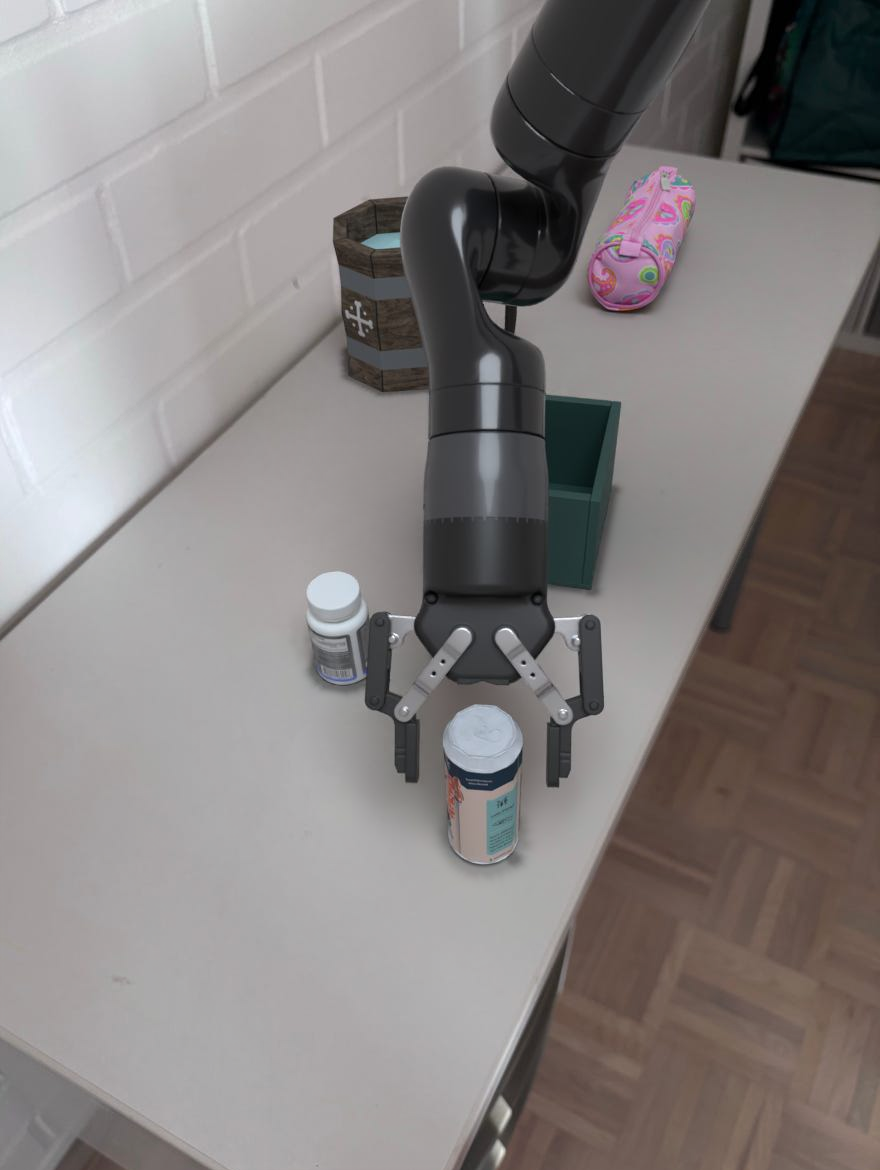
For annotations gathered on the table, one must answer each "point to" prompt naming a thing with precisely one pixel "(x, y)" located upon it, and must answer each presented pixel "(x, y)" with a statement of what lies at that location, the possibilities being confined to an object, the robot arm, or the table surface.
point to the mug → (381, 298)
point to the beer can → (483, 783)
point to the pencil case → (642, 241)
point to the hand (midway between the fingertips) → (482, 783)
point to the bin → (578, 483)
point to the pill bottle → (338, 627)
